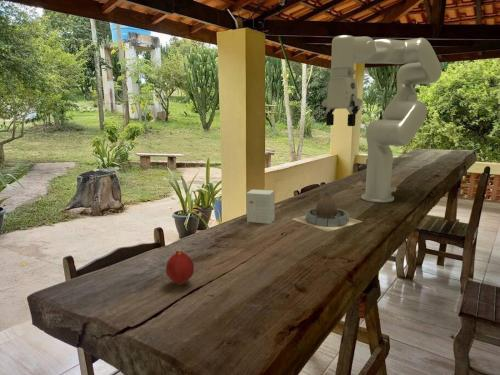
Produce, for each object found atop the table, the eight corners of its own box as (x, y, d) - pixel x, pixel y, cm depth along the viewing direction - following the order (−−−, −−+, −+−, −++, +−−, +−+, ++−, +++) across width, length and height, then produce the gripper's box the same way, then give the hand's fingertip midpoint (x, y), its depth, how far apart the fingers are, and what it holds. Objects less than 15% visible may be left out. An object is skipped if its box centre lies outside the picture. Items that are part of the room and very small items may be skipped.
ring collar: (325, 212, 125) (326, 205, 125) (356, 221, 114) (357, 213, 114) (297, 219, 118) (297, 211, 117) (327, 229, 107) (327, 221, 106)
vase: (337, 223, 112) (338, 196, 110) (315, 222, 114) (315, 195, 112) (336, 217, 119) (337, 191, 117) (315, 216, 120) (316, 190, 118)
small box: (274, 221, 118) (274, 190, 116) (270, 226, 113) (270, 194, 111) (252, 219, 121) (251, 188, 119) (246, 224, 116) (246, 192, 114)
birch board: (325, 212, 127) (325, 210, 127) (362, 223, 114) (362, 221, 114) (291, 221, 118) (291, 218, 118) (327, 234, 105) (327, 231, 105)
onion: (169, 278, 79) (166, 244, 77) (195, 277, 79) (193, 243, 78) (165, 291, 73) (162, 255, 71) (193, 290, 74) (191, 254, 72)
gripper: (370, 73, 117) (367, 126, 120) (330, 77, 131) (329, 124, 134) (355, 72, 113) (352, 126, 116) (316, 76, 126) (314, 125, 130)
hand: (340, 125), depth 125 cm, fingers open, 9 cm apart
